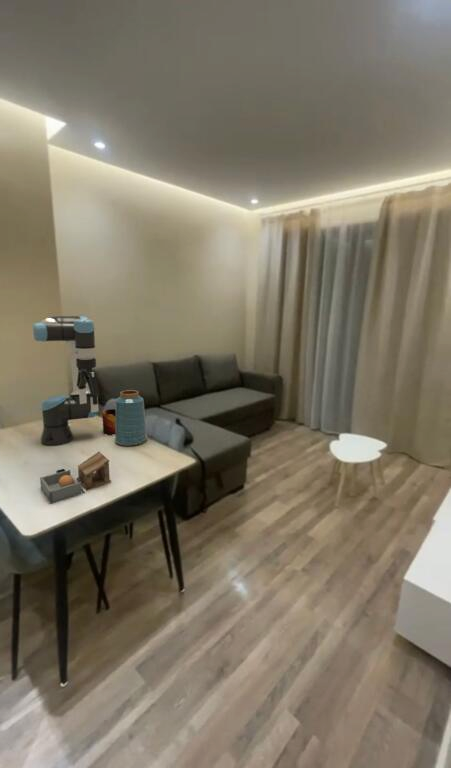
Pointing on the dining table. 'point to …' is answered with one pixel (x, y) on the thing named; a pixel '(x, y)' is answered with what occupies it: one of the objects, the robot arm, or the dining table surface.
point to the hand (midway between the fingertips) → (88, 407)
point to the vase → (130, 419)
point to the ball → (65, 481)
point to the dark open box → (60, 470)
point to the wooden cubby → (90, 466)
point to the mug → (109, 421)
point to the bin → (55, 491)
